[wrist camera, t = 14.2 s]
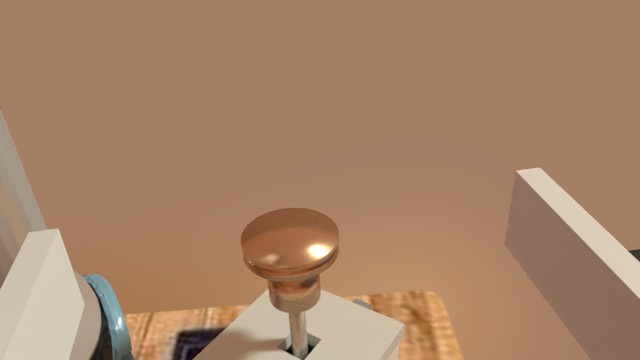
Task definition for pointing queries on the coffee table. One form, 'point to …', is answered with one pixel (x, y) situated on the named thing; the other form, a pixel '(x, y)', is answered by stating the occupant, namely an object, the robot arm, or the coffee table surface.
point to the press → (309, 333)
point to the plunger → (292, 262)
